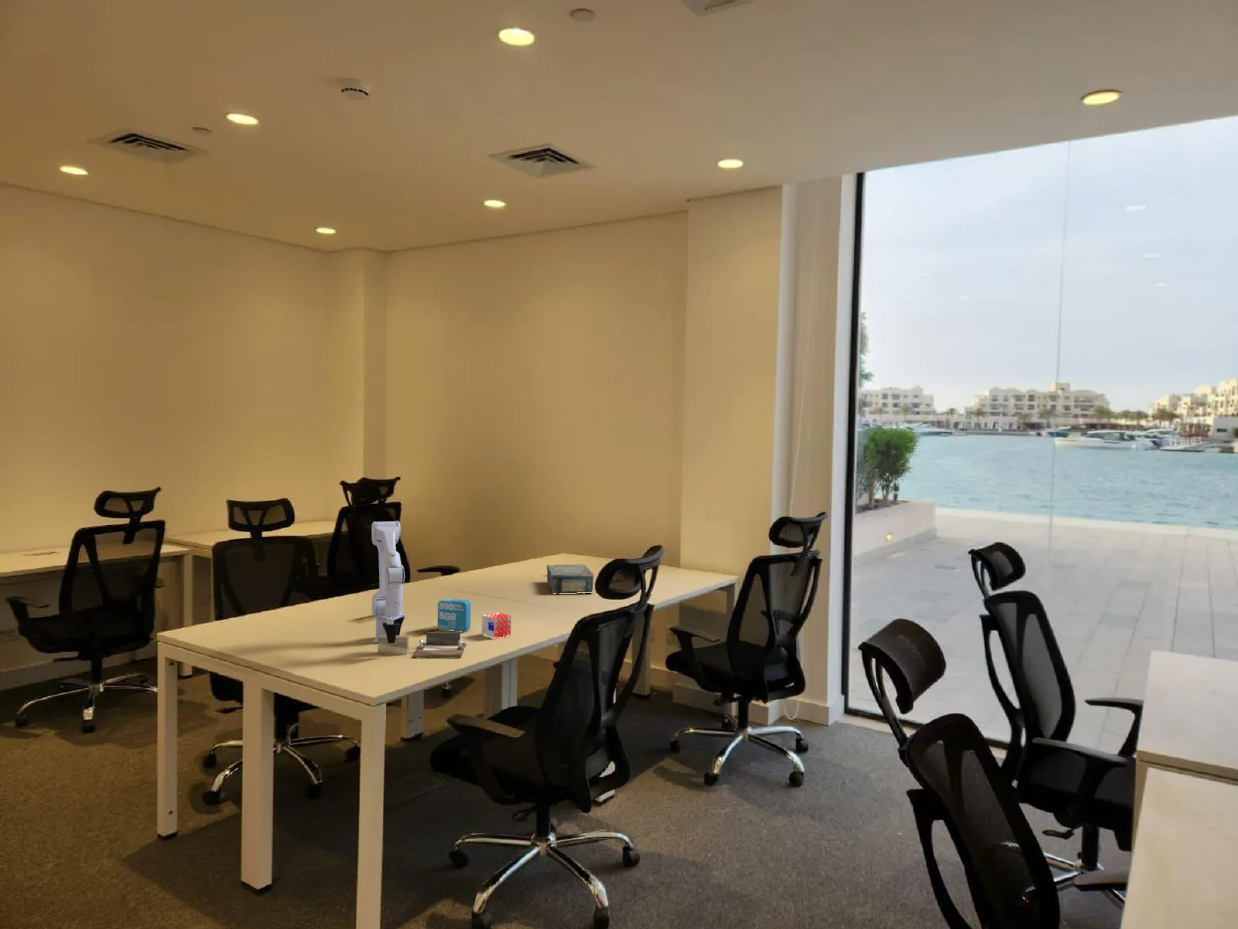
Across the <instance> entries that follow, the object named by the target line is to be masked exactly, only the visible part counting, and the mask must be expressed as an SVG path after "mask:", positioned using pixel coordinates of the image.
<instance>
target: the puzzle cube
mask: <svg viewBox="0 0 1238 929" xmlns="http://www.w3.org/2000/svg"><path fill="white" fill-rule="evenodd" d="M482 634H486V635H487V636H490V637H494V638H495V637H496V638H497V637H503V636H504V638H506V637H505V636H507V635H512V615H511V614H506V613H501V612H499V611H498V612H493V613H486V614H482V616H481V635H482Z"/></svg>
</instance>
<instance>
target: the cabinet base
mask: <svg viewBox="0 0 1238 929" xmlns="http://www.w3.org/2000/svg"><path fill="white" fill-rule="evenodd" d="M425 635H426V638H425V642H423V649H419V646H418V647H417V649H416V651H415V652H414V654H413V658H414V657H461V658H462V656H463V654H464V651H465V649H464V648H466V646H467V643H466V642H462V649H458V640H461V632H451V631H444V632H443V631H440V632H439V631H438V632H433V631H432V632H431V631H429V632H426V633H425Z"/></svg>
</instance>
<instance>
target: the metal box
mask: <svg viewBox="0 0 1238 929" xmlns="http://www.w3.org/2000/svg"><path fill="white" fill-rule="evenodd" d="M546 570H547V571H546V572H547V573H546V578H547V579H546V583H547V582H548V583H547V586H548V585H549V586H548V588H549V587H550V588H549V590H550V589H551V590H550V592H551V594H552V593H577V592H592V591H593V592H594V572H592V571H591V569H590V568H589V567H588V566H587V565H585V564H553V565H551V564H548V565H546Z"/></svg>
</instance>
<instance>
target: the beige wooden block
mask: <svg viewBox="0 0 1238 929" xmlns="http://www.w3.org/2000/svg"><path fill="white" fill-rule="evenodd" d="M409 640H410V636H409V635H401V634H400V635H396V640H395V643H388V640H387V635H380V636H379V637H378V643H377V655H408V654H409V652H410V650H409V648H410V641H409Z"/></svg>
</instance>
